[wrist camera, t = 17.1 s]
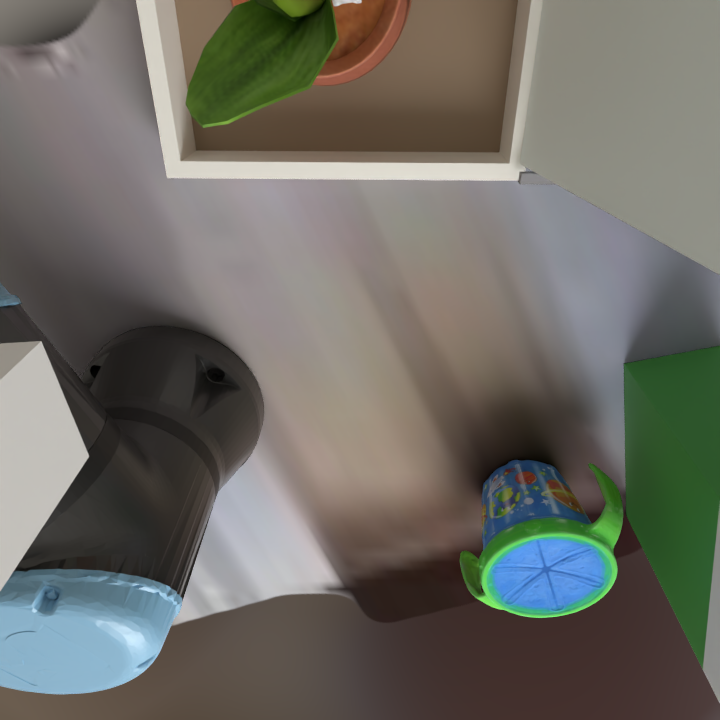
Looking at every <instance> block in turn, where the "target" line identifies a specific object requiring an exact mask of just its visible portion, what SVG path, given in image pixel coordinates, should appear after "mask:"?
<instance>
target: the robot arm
mask: <svg viewBox="0 0 720 720" xmlns="http://www.w3.org/2000/svg"><path fill="white" fill-rule="evenodd" d="M21 303H22V302H21V301H20V299H19V298H18V297H17V296H16V295H11V294H10V293H9V292H8V291H7V290H6V289H5V288H4V286H3V285H2V284H1V283H0V686H2V687H7V688H12V689H17V690H23V691H28V692H39V693H47V694H78V693H89V692H95V691H101V690H105V689H109V688H112V687H115V686H118V685H121V684H124V683H126V682H128V681H130V680H132V679H134V678H135V677H137V676H138V675H140V674H141V673H143V672H144V671H145V670H146V669H147V668H148V667H149V666H150V665H151V664H152V663H153V661H154V660H155V659H156V657H157V656H158V654H159V652H160V650H161V648H162V646H163V643H164V641H165V639H166V636H167V634H168V632H169V629H170V627H171V625H172V622H173V620H174V618H175V617H176V616H177V615H178V613H179V611H180V609H181V606H182V601H183V597H184V594H185V591H186V588H187V585H188V582H189V579H190V576H191V573H192V570H193V567H194V564H195V560H196V557H197V554H198V551H199V548H200V545H201V542H202V539H203V536H204V533H205V530H206V526H207V523H208V520H209V517H210V514H211V511H212V508H213V505H214V502H215V499H216V496H217V493H218V491H219V490H220V489H221V488H222V487H223V486H224V485H225V484H226V483H227V481H228V480H229V479H230V478H231V477H232V476H233V475H234V474H235V472H236V471H237V470H238V469H239V468H240V467H241V466H242V465H243V464H244V463H245V462H246V461H247V459H248V458H249V457H250V455H251V454H252V452H253V450H254V448H255V446H256V444H257V441H258V438H259V435H260V431H261V428H262V425H263V420H264V403H263V398H262V394H261V391H260V388H259V386H258V384H257V382H256V380H255V378H254V376H253V375H252V373H251V372H250V370H249V369H248V368H247V367H246V365H245V364H244V363H243V362H242V361H241V360H240V359H239V358H238V357H237V356H236V355H235V354H234V353H232V352H231V351H230V350H229V349H227V348H226V347H224V346H223V345H221V344H220V343H218V342H216V341H214V340H213V339H211V338H209V337H206V336H204V335H202V334H199V333H196V332H193V331H190V330H186V329H182V328H176V327H167V326H153V327H144V328H139V329H135V330H131V331H128V332H126V333H124V334H121V335H120V336H118V337H116V338H114V339H113V340H111V341H110V342H109V343H108V344H107V345H105V346H104V347H103V349H102V350H101V351H100V352H99V353H98V354H97V355H96V357H95V358H94V359H93V360H92V361H91V363H90V364H89V365H88V367H87V368H86V370H85V372H84V374H83V376H82V378H81V379H80V378H79V377H78V376H77V374H76V373H75V372H74V371H73V369H72V368H71V367H70V366H69V365H68V363H67V362H66V361H65V360H64V359H63V357H62V356H61V355H60V354H59V353H58V351H57V350H56V349H55V348H54V346H53V345H52V344H51V343H50V342H49V340H48V339H47V338H46V337H45V336H44V334H43V333H42V332H41V331H40V330H39V328H38V327H37V326H36V325H35V323H34V322H33V321H32V320H31V318H30V317H29V316H28V315H27V313H26V312H25V311H24V310H23V308H22V307H21V306H20V305H19V304H21Z"/></svg>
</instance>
